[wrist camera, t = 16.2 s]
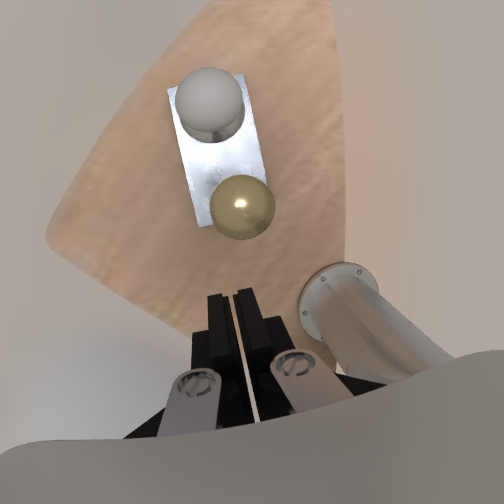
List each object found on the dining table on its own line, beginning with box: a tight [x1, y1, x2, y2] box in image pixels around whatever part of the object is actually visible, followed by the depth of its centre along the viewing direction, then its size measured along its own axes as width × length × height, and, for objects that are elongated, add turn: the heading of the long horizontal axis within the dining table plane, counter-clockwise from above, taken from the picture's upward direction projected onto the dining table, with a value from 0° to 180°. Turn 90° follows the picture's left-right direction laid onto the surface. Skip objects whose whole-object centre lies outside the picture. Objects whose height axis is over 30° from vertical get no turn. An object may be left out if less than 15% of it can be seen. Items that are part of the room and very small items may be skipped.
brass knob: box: [209, 174, 275, 240], centre depth 27 cm, size 5×5×6 cm
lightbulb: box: [175, 68, 243, 132], centre depth 28 cm, size 6×6×11 cm
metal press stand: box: [167, 73, 268, 227], centre depth 31 cm, size 17×9×12 cm, turn 12°
